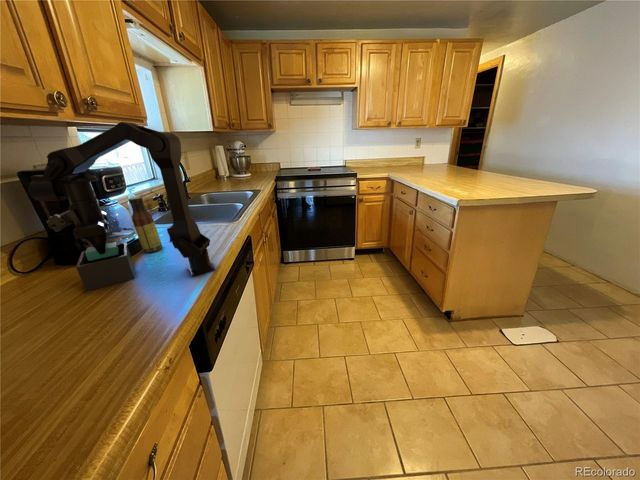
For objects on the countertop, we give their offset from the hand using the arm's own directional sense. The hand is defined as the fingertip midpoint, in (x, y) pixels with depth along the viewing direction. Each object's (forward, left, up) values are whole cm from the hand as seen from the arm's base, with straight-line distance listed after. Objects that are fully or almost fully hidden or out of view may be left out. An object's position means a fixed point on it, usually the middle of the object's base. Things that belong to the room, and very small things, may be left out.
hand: (102, 251), depth 78 cm
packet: (0, 0, -1) cm, 1 cm away
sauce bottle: (+15, -12, -8) cm, 21 cm away
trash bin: (0, 0, -8) cm, 8 cm away
